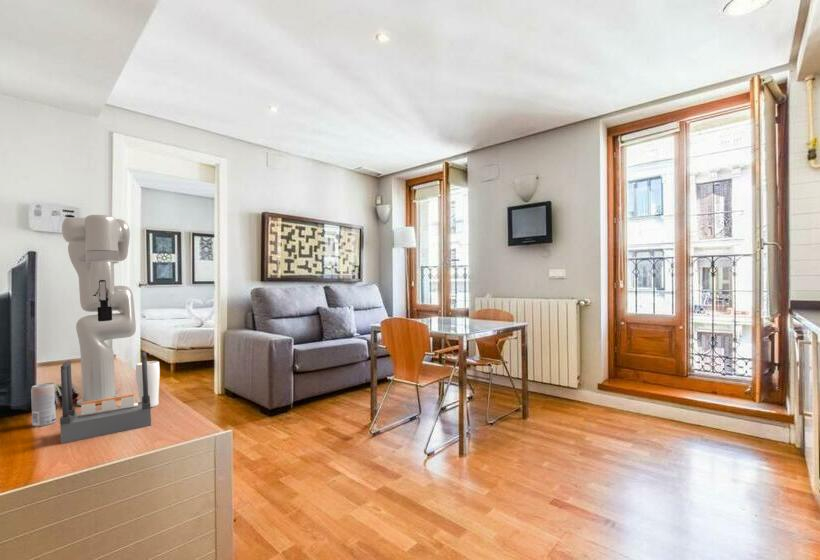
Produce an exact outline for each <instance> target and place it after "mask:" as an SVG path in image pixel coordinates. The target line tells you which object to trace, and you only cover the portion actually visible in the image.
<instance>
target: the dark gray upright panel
mask: <svg viewBox="0 0 820 560" xmlns="http://www.w3.org/2000/svg"><path fill="white" fill-rule="evenodd" d="M60 383H61V386H60V387H61V388H60V389H61V405H62V409H61V411H62V416H61V417H60V418H59V424H60V425H63V424H69V423H71V416H74V415H75V414H76V407H74V405H73V387H72V386H73V381H72V363H71V361H70V360H66V361H65V362H64V363H63V364H62V365H60Z"/></svg>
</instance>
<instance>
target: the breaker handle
mask: <svg viewBox="0 0 820 560" xmlns="http://www.w3.org/2000/svg"><path fill="white" fill-rule="evenodd" d="M134 395H135V394H134V393H131V394H126V395H125V394H123V395H121V396H117V397H111V398H105V399H99V400H93V401H87V402H82V403H81V406H80V407H81V412H77V417H81V416H86V415H92V414H98V413H103V412H109V411H115V410H120V409H126V408H131V407H137V406H138V403H139V402H135V397H134ZM119 401H120V405H117V407H116V402H119ZM101 403H102V404H101ZM134 403H135V404H134ZM96 404H97V405H101V408H100V410H99V409H97V407H96Z"/></svg>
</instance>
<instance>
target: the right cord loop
mask: <svg viewBox="0 0 820 560" xmlns="http://www.w3.org/2000/svg"><path fill="white" fill-rule="evenodd" d="M147 362H148V359H147V352H146V351H143V352H141V363H142V376H143V397H142V410H145V409H150V410H151V408H150V396H148V378H147Z"/></svg>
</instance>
